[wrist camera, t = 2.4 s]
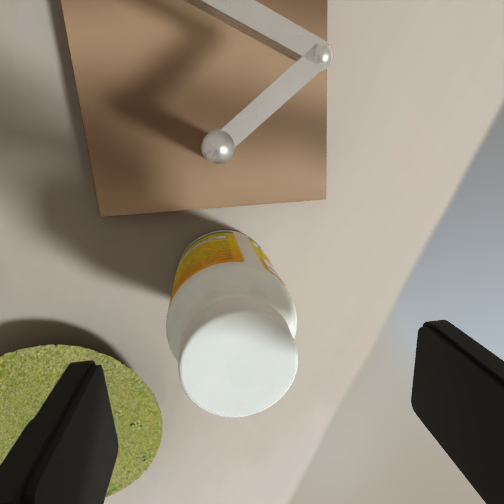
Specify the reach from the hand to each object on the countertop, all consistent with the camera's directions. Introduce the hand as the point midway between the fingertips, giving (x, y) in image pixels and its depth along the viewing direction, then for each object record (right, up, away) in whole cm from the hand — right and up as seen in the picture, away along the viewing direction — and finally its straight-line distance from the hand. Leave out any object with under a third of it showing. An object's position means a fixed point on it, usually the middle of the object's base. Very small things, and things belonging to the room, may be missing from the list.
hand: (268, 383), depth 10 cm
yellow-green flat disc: (-12, -6, +11) cm, 17 cm away
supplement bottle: (-2, +3, +10) cm, 11 cm away
